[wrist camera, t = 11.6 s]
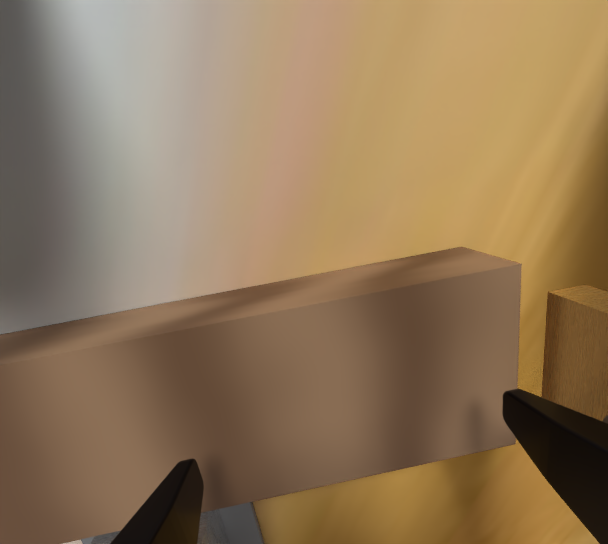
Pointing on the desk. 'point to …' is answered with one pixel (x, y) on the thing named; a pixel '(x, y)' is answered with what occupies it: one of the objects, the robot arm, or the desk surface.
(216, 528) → the grey knobbed cube
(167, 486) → the robot arm
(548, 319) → the tan wooden flat block
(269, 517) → the desk surface
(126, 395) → the body
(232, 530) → the pad
